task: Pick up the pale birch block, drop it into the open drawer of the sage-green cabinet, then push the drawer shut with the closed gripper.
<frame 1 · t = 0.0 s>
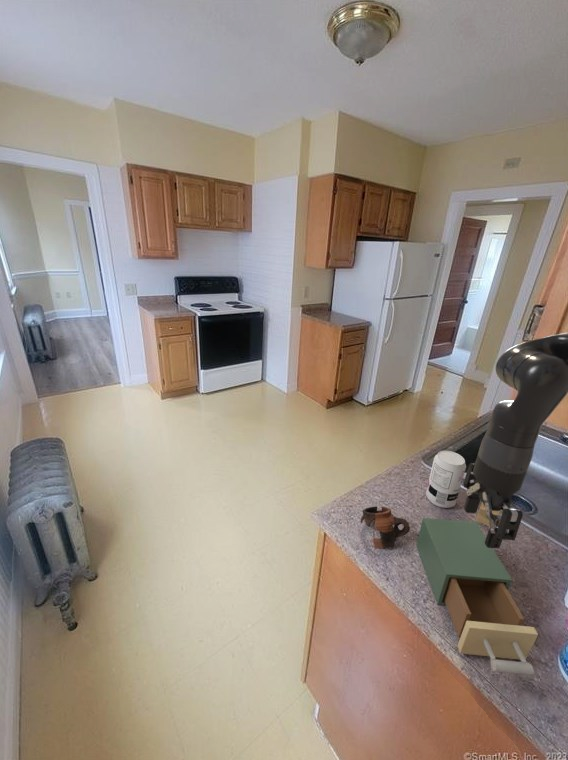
hand: (479, 527, 63), 19 cm above the worktop, tool pointing down, fingers open, 8 cm apart
pottery mug: (382, 535, 84), on the worktop
supplement can: (440, 499, 96), on the worktop
drawer: (485, 617, 61), point 5 cm above the worktop, slide at 8.0 cm
block: (486, 520, 89), on the worktop
cabinet: (453, 575, 73), on the worktop
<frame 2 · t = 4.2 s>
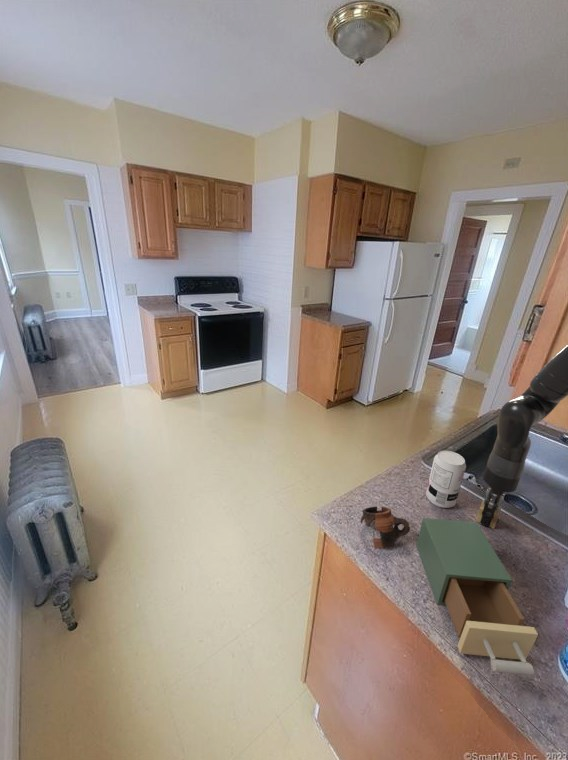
hand: (486, 519, 89), 0 cm above the worktop, tool pointing down, fingers closed on block, 4 cm apart
block: (486, 520, 89), on the worktop, touching gripper
everything else where it was.
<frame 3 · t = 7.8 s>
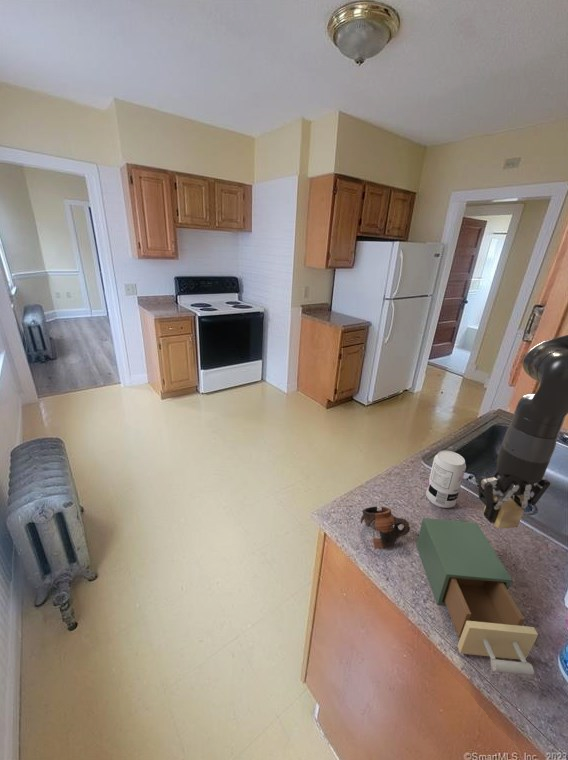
hand: (500, 518, 67), 18 cm above the worktop, tool pointing down, fingers closed on block, 4 cm apart
block: (499, 519, 67), point 17 cm above the worktop, touching gripper
everything else where it was.
when the fingers open (7 cm above the worktop, at t = 11.5 s): block drops 5 cm, resting on drawer.
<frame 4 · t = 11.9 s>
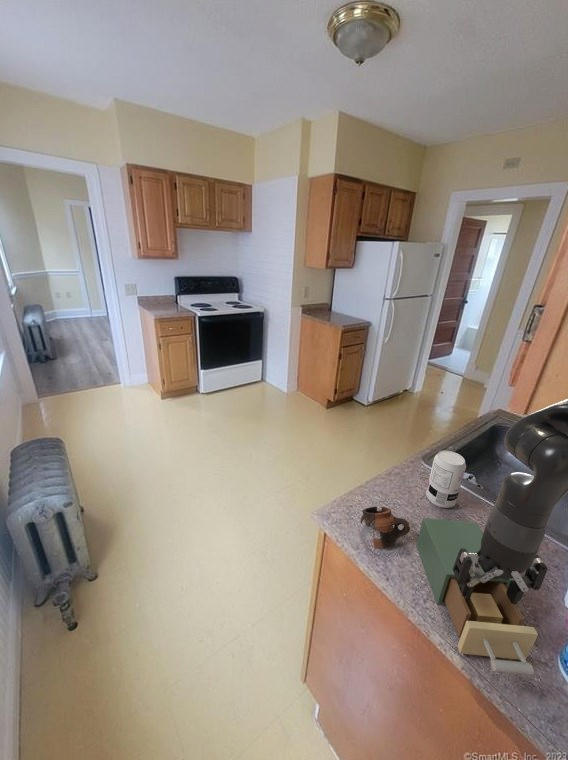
hand: (487, 597, 60), 9 cm above the worktop, tool pointing down, fingers open, 8 cm apart
drawer: (485, 617, 61), point 5 cm above the worktop, slide at 8.0 cm, touching block
block: (479, 619, 63), point 2 cm above the worktop, touching drawer
everything else where it was.
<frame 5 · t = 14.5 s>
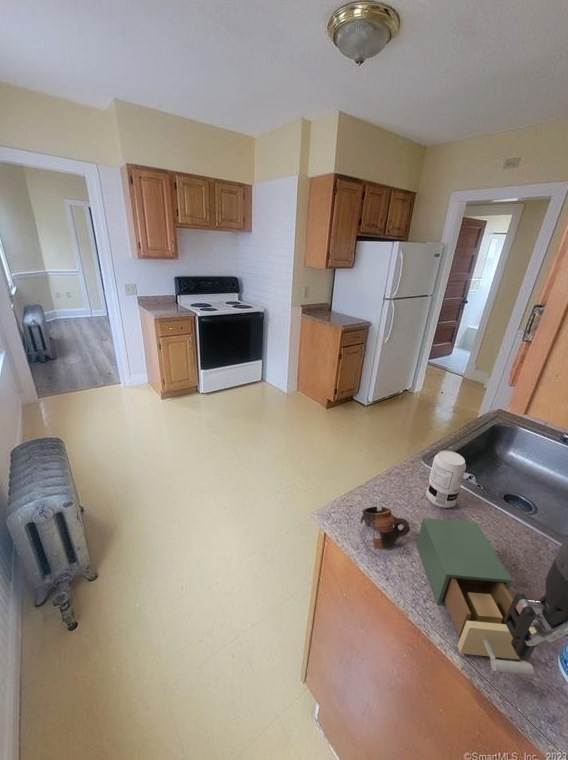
hand: (550, 656, 45), 16 cm above the worktop, tool pointing down, fingers open, 8 cm apart
nothing on the worktop moved.
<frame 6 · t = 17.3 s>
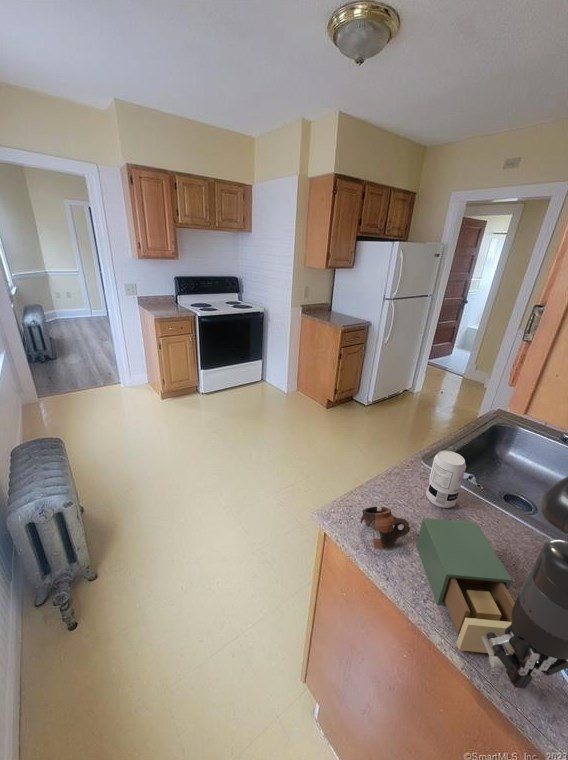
hand: (515, 680, 52), 4 cm above the worktop, tool pointing down, fingers closed
drawer: (483, 614, 61), point 5 cm above the worktop, slide at 7.5 cm, touching block, gripper
everything else where it was.
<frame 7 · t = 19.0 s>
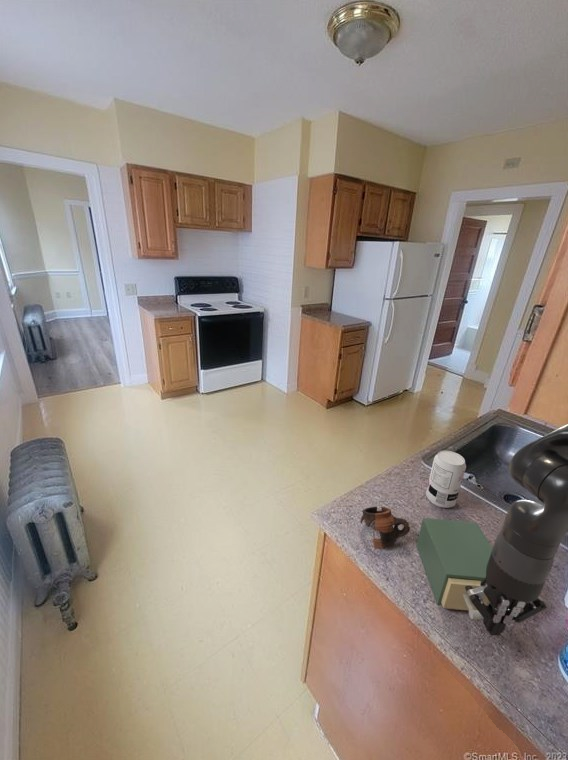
hand: (491, 630, 59), 4 cm above the worktop, tool pointing down, fingers closed
drawer: (466, 577, 68), point 5 cm above the worktop, slide at 0.0 cm, touching block, cabinet, gripper
block: (461, 580, 70), point 2 cm above the worktop, touching drawer
everything else where it was.
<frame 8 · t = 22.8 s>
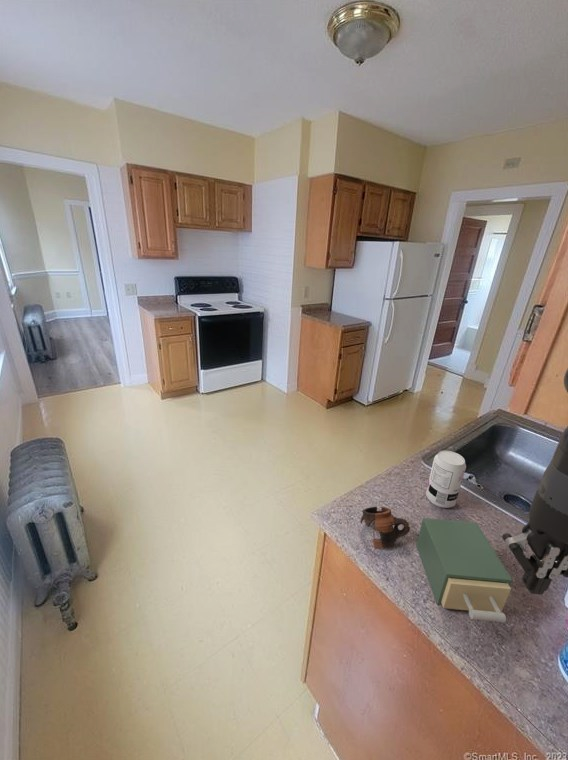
hand: (532, 588, 49), 21 cm above the worktop, tool pointing down, fingers closed
drawer: (466, 577, 68), point 5 cm above the worktop, slide at 0.0 cm, touching block
everything else where it was.
at the end: block inside the target area in the cabinet (2.8 cm from its centre), point 2.0 cm above the cabinet's base; drawer slide at 0.0 cm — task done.
